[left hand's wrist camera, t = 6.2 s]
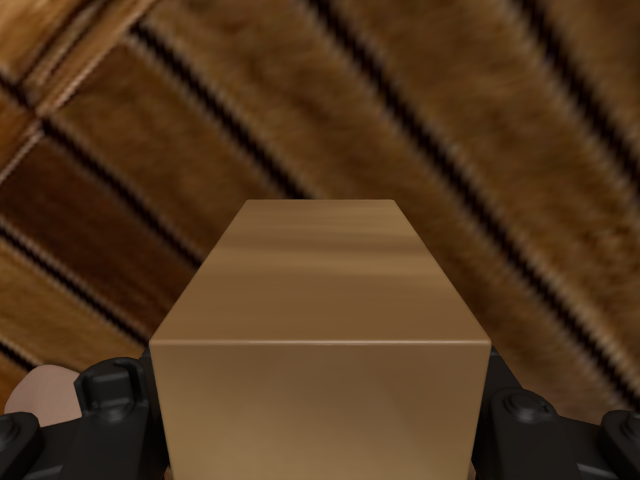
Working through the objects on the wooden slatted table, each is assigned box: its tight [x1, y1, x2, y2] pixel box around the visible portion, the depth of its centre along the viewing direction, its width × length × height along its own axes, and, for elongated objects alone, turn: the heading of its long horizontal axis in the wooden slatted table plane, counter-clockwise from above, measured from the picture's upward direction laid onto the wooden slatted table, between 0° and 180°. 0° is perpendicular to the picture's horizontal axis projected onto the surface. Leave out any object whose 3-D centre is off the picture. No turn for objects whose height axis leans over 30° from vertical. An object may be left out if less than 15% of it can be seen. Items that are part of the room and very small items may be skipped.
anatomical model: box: [5, 365, 82, 427], centre depth 31 cm, size 13×4×12 cm
